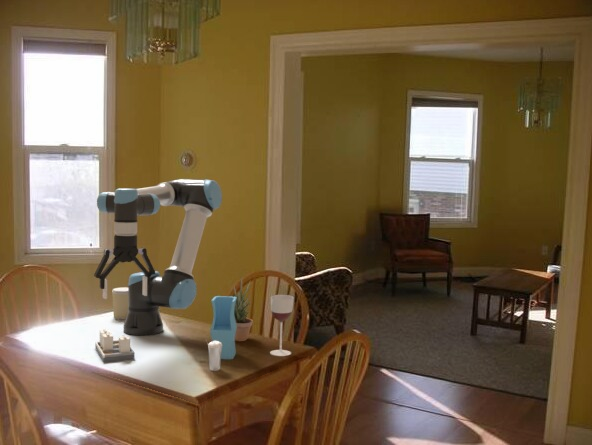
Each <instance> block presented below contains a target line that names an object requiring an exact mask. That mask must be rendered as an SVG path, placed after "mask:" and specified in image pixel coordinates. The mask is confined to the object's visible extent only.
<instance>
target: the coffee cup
mask: <svg viewBox="0 0 592 445" xmlns="http://www.w3.org/2000/svg"><path fill="white" fill-rule="evenodd" d="M111 293H112V294H111V295H112V309H113V310H112V311H113V312H112V313H113V318H114V319H117V320H126V317H127V314H128V307H129V306H128V303H129V302H128V287H126V286H125V287H115V288H112V291H111Z"/></svg>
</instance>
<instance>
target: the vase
mask: <svg viewBox="0 0 592 445" xmlns="http://www.w3.org/2000/svg"><path fill="white" fill-rule="evenodd" d="M236 299H237V297H235V296H232V297H231V295H230V296H225V295H223V296H222V295H216V296H213V298H212V299H210V300H211V305H212V306H211V307H212V309H213V312H212V314H213V318H212V323H211V326H210V330H209V331H210V332H209V333H210V336H211V337H210V339H211V342H213V341H219V342H221V343H222V352H221V360H233V359H234V358H235V356H236V354H237V350H236V341H235V334H236V329H237V324H236V321H235V316H234V308H235V303H236Z"/></svg>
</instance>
